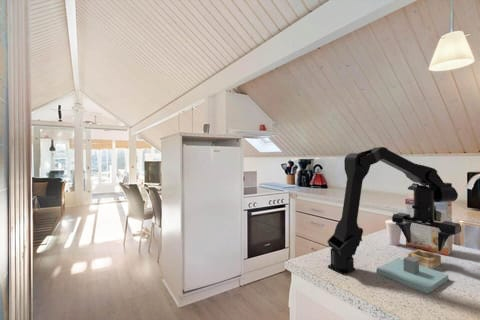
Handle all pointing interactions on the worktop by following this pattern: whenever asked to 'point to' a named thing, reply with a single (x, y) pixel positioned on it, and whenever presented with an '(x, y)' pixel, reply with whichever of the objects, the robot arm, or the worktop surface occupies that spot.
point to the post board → (413, 274)
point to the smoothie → (393, 232)
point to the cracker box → (429, 228)
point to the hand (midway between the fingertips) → (424, 246)
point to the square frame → (426, 258)
